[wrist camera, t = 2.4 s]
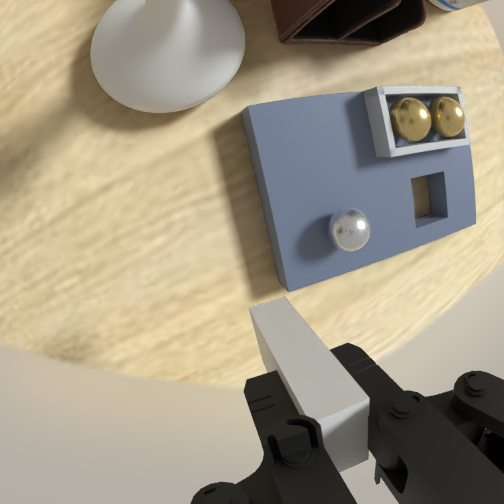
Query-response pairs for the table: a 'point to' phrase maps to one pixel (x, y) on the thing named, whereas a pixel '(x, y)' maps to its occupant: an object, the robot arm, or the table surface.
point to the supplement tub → (455, 4)
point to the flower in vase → (167, 52)
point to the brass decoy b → (446, 116)
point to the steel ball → (349, 229)
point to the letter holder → (346, 20)
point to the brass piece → (410, 119)
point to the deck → (353, 178)
